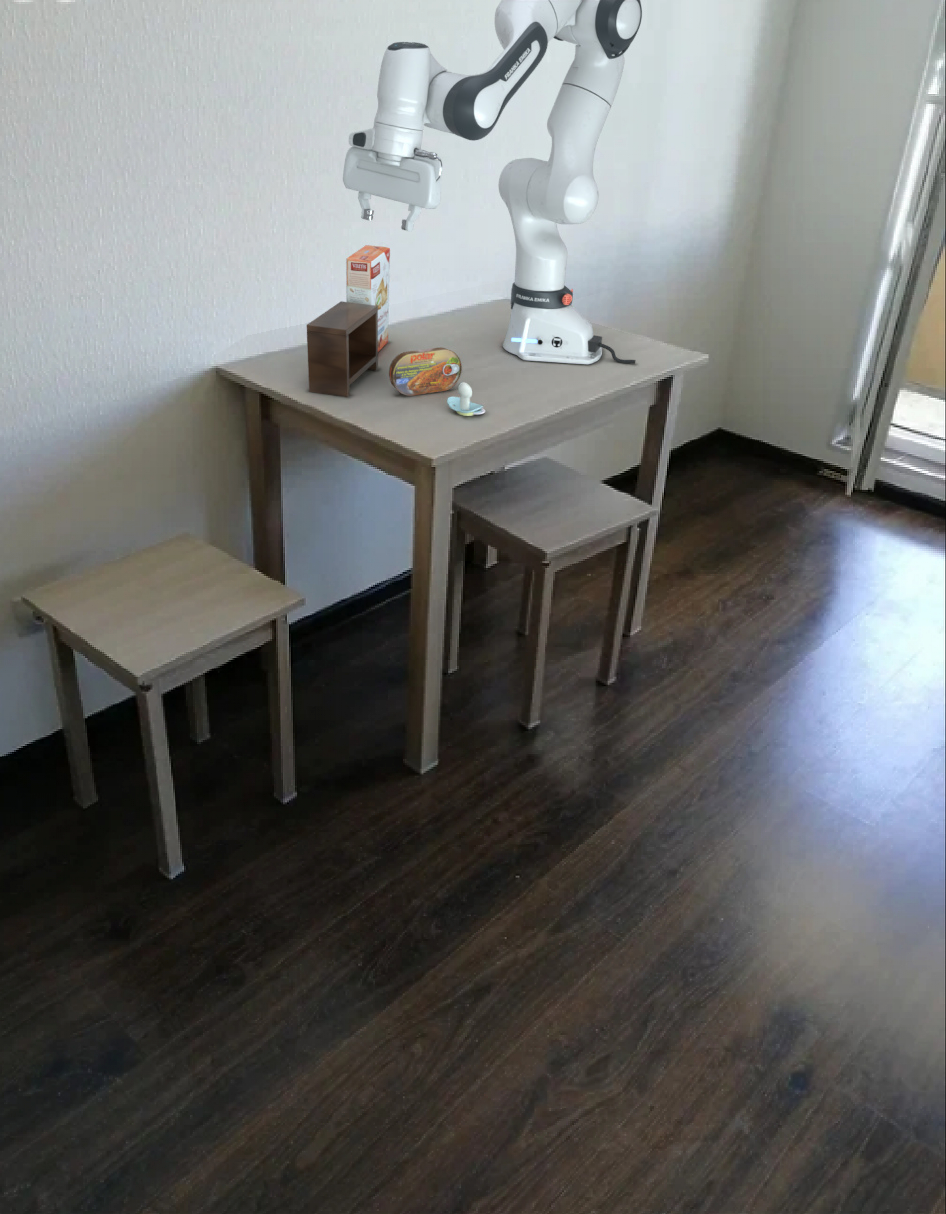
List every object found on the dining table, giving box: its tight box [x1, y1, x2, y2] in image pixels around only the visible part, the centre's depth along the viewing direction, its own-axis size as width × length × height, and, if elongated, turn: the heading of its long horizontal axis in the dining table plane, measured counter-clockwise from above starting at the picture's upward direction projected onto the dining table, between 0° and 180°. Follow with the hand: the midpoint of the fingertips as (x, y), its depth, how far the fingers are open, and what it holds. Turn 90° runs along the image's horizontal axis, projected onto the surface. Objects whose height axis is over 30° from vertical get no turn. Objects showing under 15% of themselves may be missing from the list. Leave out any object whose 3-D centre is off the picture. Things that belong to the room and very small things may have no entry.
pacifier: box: [446, 381, 486, 417], centre depth 187 cm, size 7×6×6 cm
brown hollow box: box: [306, 300, 379, 398], centre depth 197 cm, size 8×18×13 cm, turn 165°
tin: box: [388, 347, 463, 397], centre depth 195 cm, size 15×3×8 cm, turn 117°
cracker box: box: [345, 244, 391, 353], centre depth 212 cm, size 14×6×21 cm, turn 168°
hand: (386, 224), depth 183 cm, fingers open, 8 cm apart
